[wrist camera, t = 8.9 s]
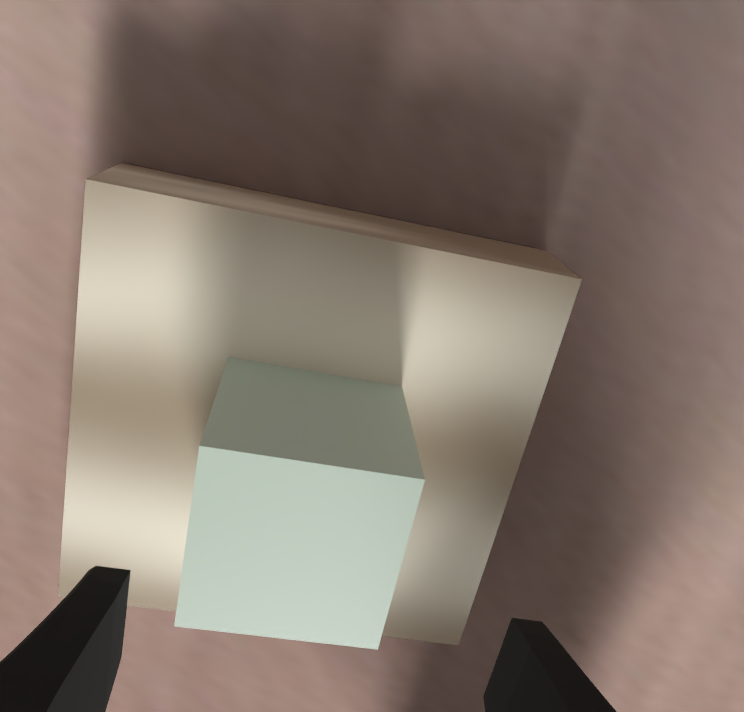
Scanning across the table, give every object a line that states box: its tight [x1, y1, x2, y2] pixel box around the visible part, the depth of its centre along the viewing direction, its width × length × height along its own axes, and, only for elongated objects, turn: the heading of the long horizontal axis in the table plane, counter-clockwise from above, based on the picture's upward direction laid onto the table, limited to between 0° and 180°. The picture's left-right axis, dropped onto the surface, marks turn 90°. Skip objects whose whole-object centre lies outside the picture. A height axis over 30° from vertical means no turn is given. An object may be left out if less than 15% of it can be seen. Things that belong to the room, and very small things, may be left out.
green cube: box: [174, 357, 425, 649], centre depth 17 cm, size 4×4×4 cm
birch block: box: [58, 163, 582, 646], centre depth 20 cm, size 12×12×3 cm
